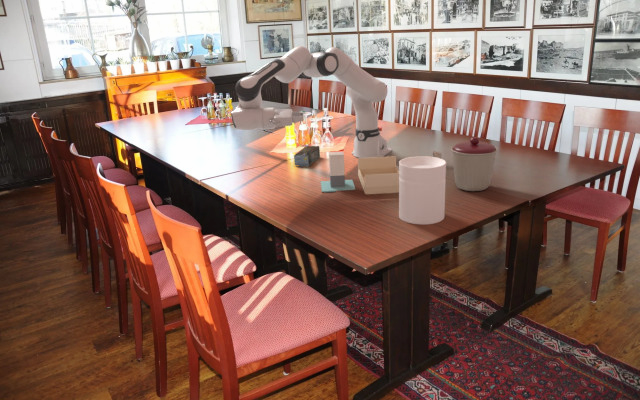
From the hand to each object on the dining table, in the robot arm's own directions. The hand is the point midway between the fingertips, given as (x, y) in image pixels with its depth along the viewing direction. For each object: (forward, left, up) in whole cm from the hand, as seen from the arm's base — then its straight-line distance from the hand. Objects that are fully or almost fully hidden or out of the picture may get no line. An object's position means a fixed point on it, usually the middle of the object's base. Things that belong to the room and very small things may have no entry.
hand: (303, 116), depth 218 cm
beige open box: (-15, +28, -30) cm, 44 cm away
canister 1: (+11, +59, -30) cm, 67 cm away
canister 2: (-28, +63, -30) cm, 76 cm away
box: (-4, +13, -29) cm, 32 cm away
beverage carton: (-32, -24, -30) cm, 50 cm away
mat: (-4, +13, -30) cm, 33 cm away
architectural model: (-51, +37, -31) cm, 70 cm away
